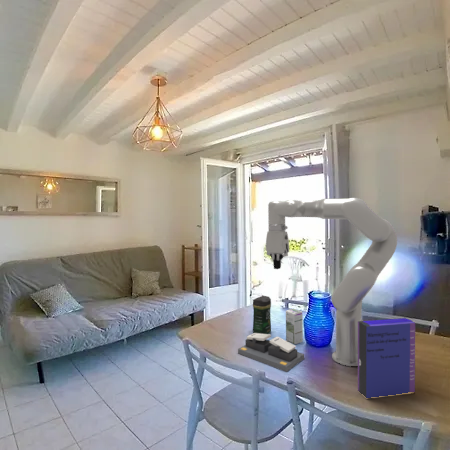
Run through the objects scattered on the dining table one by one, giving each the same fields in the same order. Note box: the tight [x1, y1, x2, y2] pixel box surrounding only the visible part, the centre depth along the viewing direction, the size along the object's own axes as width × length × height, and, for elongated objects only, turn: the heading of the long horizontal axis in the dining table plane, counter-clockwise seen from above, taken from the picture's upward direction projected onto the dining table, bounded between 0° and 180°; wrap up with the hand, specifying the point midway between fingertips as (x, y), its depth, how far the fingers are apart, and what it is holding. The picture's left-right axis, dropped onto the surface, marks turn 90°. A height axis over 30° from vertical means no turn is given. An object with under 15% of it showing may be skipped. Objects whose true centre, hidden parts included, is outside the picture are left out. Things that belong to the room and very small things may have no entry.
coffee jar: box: [252, 295, 272, 334], centre depth 155 cm, size 10×8×19 cm
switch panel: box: [237, 338, 305, 373], centre depth 130 cm, size 24×14×7 cm, turn 48°
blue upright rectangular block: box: [357, 317, 416, 398], centre depth 103 cm, size 17×5×24 cm, turn 99°
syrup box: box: [285, 308, 304, 345], centre depth 145 cm, size 6×6×14 cm
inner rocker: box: [269, 336, 297, 353], centre depth 126 cm, size 9×6×1 cm, turn 48°
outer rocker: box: [246, 332, 272, 341], centre depth 134 cm, size 9×6×1 cm, turn 48°
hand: (277, 268), depth 141 cm, fingers closed
